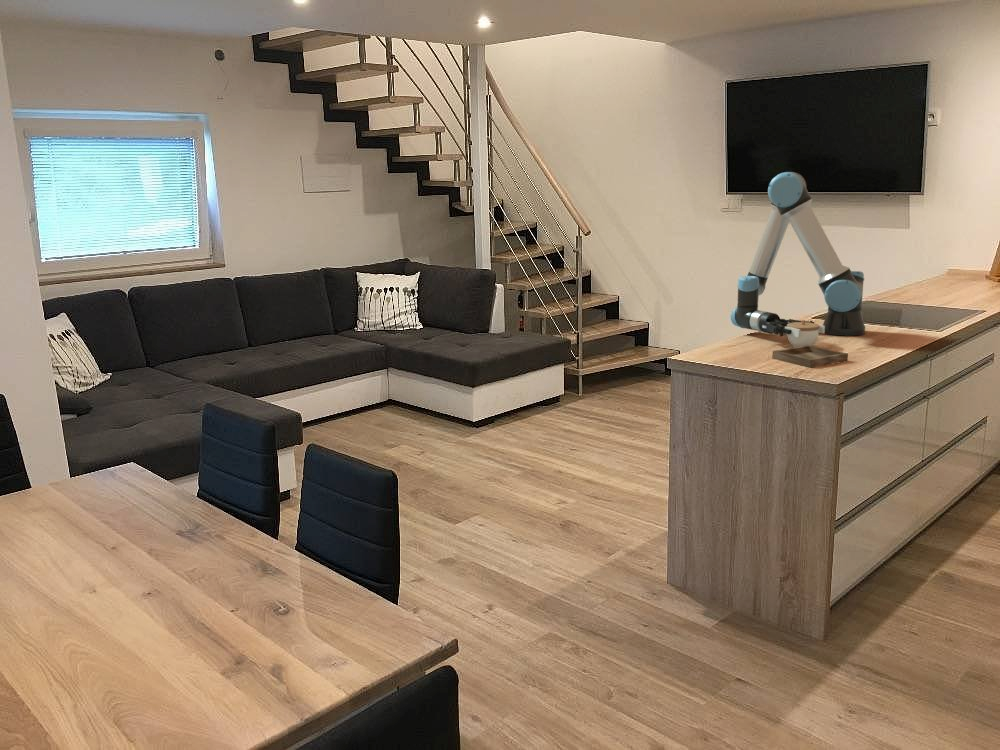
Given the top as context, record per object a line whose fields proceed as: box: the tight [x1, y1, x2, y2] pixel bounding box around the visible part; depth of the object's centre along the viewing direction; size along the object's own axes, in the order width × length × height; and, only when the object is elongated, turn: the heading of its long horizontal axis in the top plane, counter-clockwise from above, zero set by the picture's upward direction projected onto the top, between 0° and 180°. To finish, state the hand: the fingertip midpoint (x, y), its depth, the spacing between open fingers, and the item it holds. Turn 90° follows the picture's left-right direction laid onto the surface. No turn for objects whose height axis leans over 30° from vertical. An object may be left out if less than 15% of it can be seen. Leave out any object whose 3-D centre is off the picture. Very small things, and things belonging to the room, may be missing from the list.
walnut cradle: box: [772, 345, 849, 368], centre depth 285 cm, size 16×16×2 cm
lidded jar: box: [786, 319, 820, 348], centre depth 304 cm, size 11×11×9 cm
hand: (811, 331), depth 300 cm, fingers closed on lidded jar, 11 cm apart
